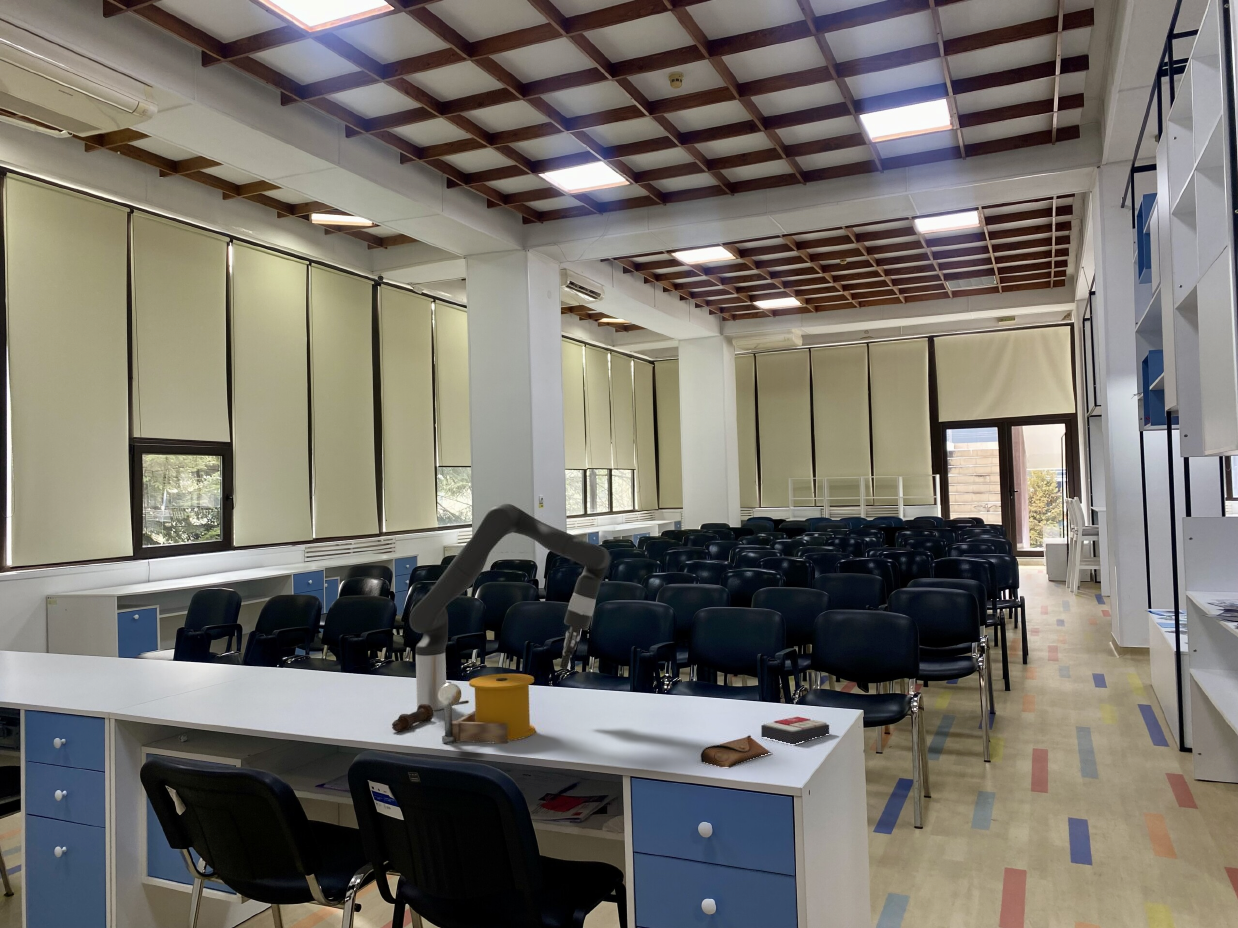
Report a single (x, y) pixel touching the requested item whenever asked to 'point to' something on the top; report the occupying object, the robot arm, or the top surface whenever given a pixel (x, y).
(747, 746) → the sunglasses case
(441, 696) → the metal faucet
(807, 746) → the top surface
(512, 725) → the spool
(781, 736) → the dark grey box
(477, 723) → the wooden v-shaped bracket
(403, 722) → the bolt
